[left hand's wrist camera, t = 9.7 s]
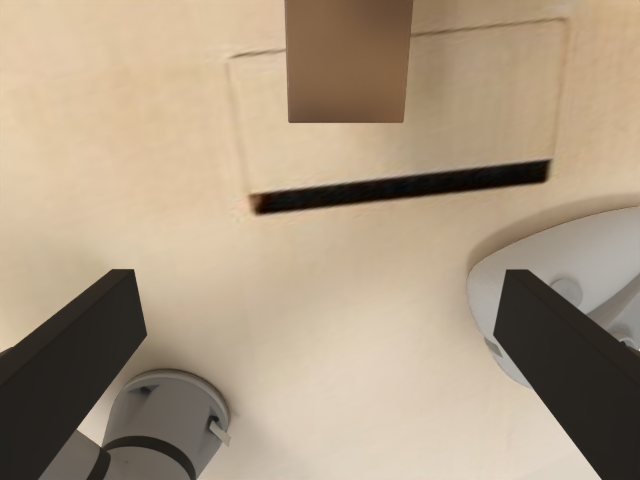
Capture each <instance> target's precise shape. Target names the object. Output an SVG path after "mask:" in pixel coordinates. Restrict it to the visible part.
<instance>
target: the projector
mask: <svg viewBox="0 0 640 480" xmlns="http://www.w3.org/2000/svg"><path fill="white" fill-rule="evenodd" d="M506 269H528V270H529V271H531V272H532V273H533V274H534V275H536V276H537V277H538V278H540V279H541V280H542V281H543V282H545V283H546V284H547V285H548V286H550V287H551V288H552V289H554V290H555V291H556V292H557V293H559V294H560V295H561V296H562V297H564V298H565V299H566V300H568V301H569V302H570V303H571V304H573V305H574V306H575V307H576V308H578V309H579V310H580V311H582V312H583V313H584V314H585V315H587V316H588V317H589V318H590V319H592V320H593V321H594V322H596V323H597V324H598V325H599V326H601V327H602V328H603V329H604V330H606V331H607V332H608V333H610V334H611V335H612V336H613V337H615V338H616V339H617V340H618V341H620V342H621V343H622V344H624V345H625V346H630V347H632V348H634V349H636V350H638V351H639V348H640V206H636V207H629V208H623V209H618V210H612V211H607V212H603V213H598V214H594V215H590V216H587V217H583V218H579V219H576V220H572V221H569V222H566V223H563V224H560V225H557V226H554V227H551V228H549V229H546V230H543V231H541V232H538V233H536V234H533V235H531V236H528V237H526V238H524V239H521V240H519V241H517V242H515V243H512V244H510V245H508V246H506V247H504V248H502V249H500V250H498V251H496V252H494V253H492V254H491V255H489V256H487V257H486V258H484V259H483V260H481V261H480V262H479V263H477V264H476V265H475V266H474V267H473V268H472V270H471V271H470V273H469V275H468V278H467V282H466V294H467V299H468V302H469V306H470V309H471V312H472V315H473V317H474V319H475V322H476V324H477V326H478V328H479V330H480V332H481V333H482V335H483V336H484V340H485V343H486V345H487V347H488V349H489V351H490V352H491V354H492V356H493V358H494V359H495V361H496V362H497V364H498V365H499V366H500V368H501V369H502V370H503V371H504V372H505V373H506V374H507V375H508V376H509V377H510V378H511V379H513V380H514V381H516V382H518V383H519V384H521V385H523V386H526V387H528V388H531V389H533V388H532V386H531V385H530V384H529V382H528V381H527V380H526V378H525V377H524V376H523V375H522V373H521V372H520V371H519V369H518V368H517V367H516V365H515V364H514V363H513V361H512V360H511V359H510V357H509V356H508V355H507V353H506V352H505V351H504V349H503V348H502V347H501V345H500V344H499V343H498V341H497V340H496V339H495V337H494V336H493V332H494V327H495V322H496V317H497V312H498V307H499V302H500V297H501V292H502V287H503V282H504V277H505V272H506Z"/></svg>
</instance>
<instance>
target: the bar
mask: <svg viewBox="0 0 640 480" xmlns="http://www.w3.org/2000/svg"><path fill="white" fill-rule="evenodd" d="M412 9H413V0H285V29H286V61H287V94H288V122H289V123H403V121H404V109H405V97H406V84H407V72H408V59H409V47H410V34H411V21H412Z"/></svg>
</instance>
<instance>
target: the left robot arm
mask: <svg viewBox="0 0 640 480" xmlns="http://www.w3.org/2000/svg"><path fill="white" fill-rule="evenodd" d="M146 336H147V332H146V327H145V322H144V317H143V312H142V307H141V302H140V297H139V292H138V287H137V282H136V277H135V272H134V269H112V270H111V271H109V272H108V273H107V274H105V275H104V276H103V277H102V278H100V279H99V280H98V281H97V282H95V283H94V284H93V285H92V286H90V287H89V288H88V289H86V290H85V291H84V292H83V293H81V294H80V295H79V296H78V297H76V298H75V299H74V300H72V301H71V302H70V303H69V304H67V305H66V306H65V307H64V308H62V309H61V310H60V311H58V312H57V313H56V314H55V315H53V316H52V317H51V318H50V319H48V320H47V321H46V322H44V323H43V324H42V325H41V326H39V327H38V328H37V329H36V330H34V331H33V332H32V333H30V334H29V335H28V336H27V337H25V338H24V339H23V340H22V341H20V342H19V343H18V344H16V345H15V346H14V347H11V348H9V349H7V350H5V351H3V352H1V353H0V480H197V478H198V477H199V475H200V474H201V472H202V471H203V470H204V468H205V467H206V465H207V464H208V463H209V461H210V460H211V458H212V457H213V456H214V454H215V453H216V451H217V450H218V449H219V447H220V445H221V443H222V441H223V442H224V443H225V444H226V445H227V446H229V442H230V438H231V437H230V436H229V435H228V434H227V433H226V431H227V427H228V423H229V412H228V408H227V405H226V403H225V401H224V399H223V397H222V396H221V395H220V393H219V392H218V391H217V390H216V389H215V388H214V387H213V386H212V385H210V384H209V383H208V382H206V381H205V380H203V379H201V378H199V377H197V376H195V375H193V374H190V373H187V372H183V371H178V370H169V369H161V370H153V371H149V372H145V373H142V374H140V375H138V376H136V377H134V378H133V379H131V380H130V381H129V382H128V383H127V384H126V385H125V386H124V387H123V389H122V390H121V392H120V393H119V395H118V396H117V398H116V399H115V402H114V404H113V406H112V409H111V412H110V416H109V420H108V424H107V428H106V431H105V435H104V439H103V443H102V447H100V446H99V445H97V444H96V443H95V442H93V441H92V440H90V439H89V438H88V437H86V436H85V435H84V434H82V433H81V432H79V431H78V430H77V428H78V426H79V425H80V424H81V422H82V421H83V420H84V418H85V417H86V416H87V414H88V413H89V412H90V410H91V409H92V408H93V406H94V405H95V404H96V402H97V401H98V400H99V398H100V397H101V396H102V394H103V393H104V392H105V390H106V389H107V388H108V386H109V385H110V384H111V382H112V381H113V380H114V378H115V377H116V376H117V375H118V373H119V372H120V371H121V369H122V368H123V367H124V365H125V364H126V363H127V361H128V360H129V359H130V357H131V356H132V355H133V353H134V352H135V351H136V349H137V348H138V347H139V345H140V344H141V343H142V341H143V340H144V339H145V337H146ZM493 336H494V337H495V339H496V340H497V341H498V343H499V344H500V345H501V347H502V348H503V349H504V351H505V352H506V353H507V355H508V356H509V357H510V359H511V360H512V361H513V363H514V364H515V365H516V367H517V368H518V369H519V371H520V372H521V373H522V375H523V376H524V377H525V378H526V380H527V381H528V382H529V384H530V385H531V386H532V388H533V389H534V390H535V392H536V393H537V394H538V396H539V397H540V398H541V400H542V401H543V402H544V404H545V405H546V406H547V408H548V409H549V410H550V412H551V413H552V414H553V416H554V417H555V418H556V420H557V421H558V422H559V424H560V425H561V426H562V428H563V429H564V430H565V432H566V433H567V434H568V436H569V437H570V438H571V439H572V441H573V442H574V443H575V445H576V446H577V447H578V449H579V450H580V451H581V453H582V454H583V455H584V457H585V458H586V459H587V461H588V462H589V463H590V465H591V466H592V467H593V469H594V470H595V471H596V473H597V474H598V475H599V477H600V478H601V479H602V480H640V351H638V350H636V349H634V348H632V347H630V346H625V345H624V344H622V343H621V342H620V341H618V340H617V339H616V338H615V337H613V336H612V335H611V334H610V333H608V332H607V331H606V330H604V329H603V328H602V327H601V326H599V325H598V324H597V323H596V322H594V321H593V320H592V319H590V318H589V317H588V316H587V315H585V314H584V313H583V312H582V311H580V310H579V309H578V308H576V307H575V306H574V305H573V304H571V303H570V302H569V301H568V300H566V299H565V298H564V297H562V296H561V295H560V294H559V293H557V292H556V291H555V290H554V289H552V288H551V287H550V286H548V285H547V284H546V283H545V282H543V281H542V280H541V279H540V278H538V277H537V276H536V275H534V274H533V273H532V272H531V271H529V270H528V269H506V272H505V277H504V282H503V287H502V292H501V297H500V302H499V307H498V312H497V317H496V322H495V327H494V332H493Z"/></svg>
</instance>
